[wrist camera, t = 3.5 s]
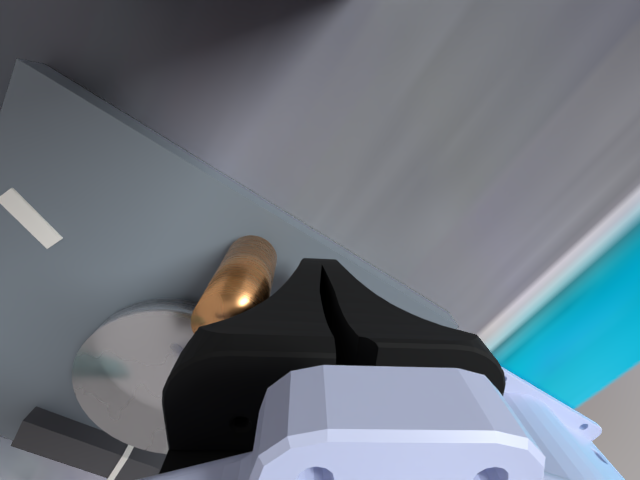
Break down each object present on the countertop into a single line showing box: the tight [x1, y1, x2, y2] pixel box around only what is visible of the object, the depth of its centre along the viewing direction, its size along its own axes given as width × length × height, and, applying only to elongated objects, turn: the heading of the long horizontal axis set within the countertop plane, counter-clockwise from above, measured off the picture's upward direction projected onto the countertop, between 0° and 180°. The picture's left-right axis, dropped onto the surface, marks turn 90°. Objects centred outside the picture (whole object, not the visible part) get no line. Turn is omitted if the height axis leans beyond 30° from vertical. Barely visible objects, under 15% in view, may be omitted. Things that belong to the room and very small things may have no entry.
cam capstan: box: [72, 235, 277, 454], centre depth 12 cm, size 12×8×4 cm, turn 147°
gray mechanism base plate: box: [0, 58, 459, 480], centre depth 15 cm, size 20×18×3 cm
